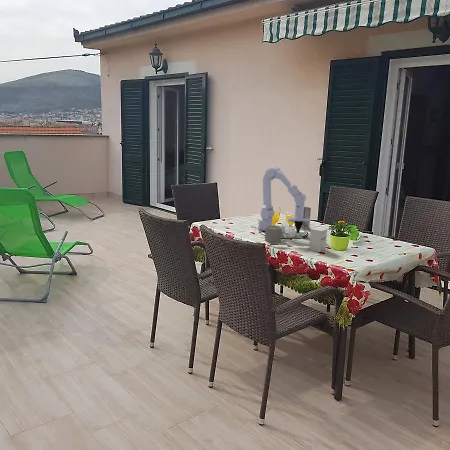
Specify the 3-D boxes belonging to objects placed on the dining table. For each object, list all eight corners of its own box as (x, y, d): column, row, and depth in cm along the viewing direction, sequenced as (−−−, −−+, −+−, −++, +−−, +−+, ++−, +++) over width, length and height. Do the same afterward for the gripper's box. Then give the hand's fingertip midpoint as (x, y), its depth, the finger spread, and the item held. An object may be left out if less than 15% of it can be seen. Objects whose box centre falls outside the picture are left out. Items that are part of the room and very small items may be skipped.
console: (280, 240, 293) (280, 237, 293) (276, 232, 313) (277, 230, 313) (303, 240, 293) (303, 238, 293) (299, 233, 313) (299, 231, 313)
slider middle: (289, 234, 302) (289, 228, 301) (288, 233, 305) (288, 227, 304) (293, 234, 302) (294, 228, 301) (293, 233, 305) (293, 227, 304)
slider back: (280, 231, 309) (280, 225, 308) (279, 230, 312) (280, 224, 311) (284, 231, 309) (285, 225, 308) (284, 230, 312) (284, 224, 311)
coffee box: (309, 230, 325) (311, 207, 322) (303, 231, 321) (305, 208, 318) (300, 227, 332) (301, 205, 329) (293, 228, 328) (295, 206, 325)
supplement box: (319, 252, 269) (321, 231, 266) (308, 249, 273) (310, 228, 271) (325, 249, 274) (327, 229, 272) (314, 247, 279) (316, 226, 276)
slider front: (290, 237, 295) (290, 230, 294) (289, 235, 298) (290, 229, 297) (295, 237, 295) (295, 230, 294) (294, 236, 298) (294, 229, 297)
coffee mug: (272, 245, 279) (273, 229, 277) (261, 242, 286) (262, 226, 284) (288, 243, 287) (289, 227, 285) (277, 239, 294) (278, 224, 292)
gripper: (288, 213, 296) (287, 233, 299) (311, 213, 296) (309, 234, 299) (287, 211, 303) (286, 231, 306) (309, 211, 303) (308, 231, 306)
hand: (297, 232), depth 303 cm, fingers closed
